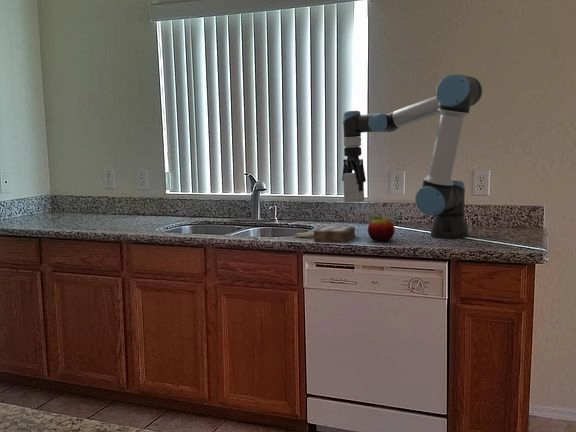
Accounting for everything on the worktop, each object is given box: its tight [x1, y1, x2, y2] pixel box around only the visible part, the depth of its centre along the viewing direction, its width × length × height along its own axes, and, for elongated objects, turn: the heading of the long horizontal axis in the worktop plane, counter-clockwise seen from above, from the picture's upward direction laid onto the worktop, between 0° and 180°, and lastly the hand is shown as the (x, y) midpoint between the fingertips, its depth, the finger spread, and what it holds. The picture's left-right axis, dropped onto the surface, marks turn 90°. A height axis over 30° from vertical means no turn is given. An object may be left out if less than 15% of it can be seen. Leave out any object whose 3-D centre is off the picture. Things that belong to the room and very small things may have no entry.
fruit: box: [367, 215, 395, 243], centre depth 224 cm, size 11×11×10 cm
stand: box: [313, 225, 356, 243], centre depth 232 cm, size 14×14×4 cm
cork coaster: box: [294, 231, 314, 238], centre depth 241 cm, size 10×10×1 cm
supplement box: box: [342, 172, 365, 203], centre depth 243 cm, size 7×7×13 cm
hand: (354, 197), depth 244 cm, fingers closed on supplement box, 10 cm apart
